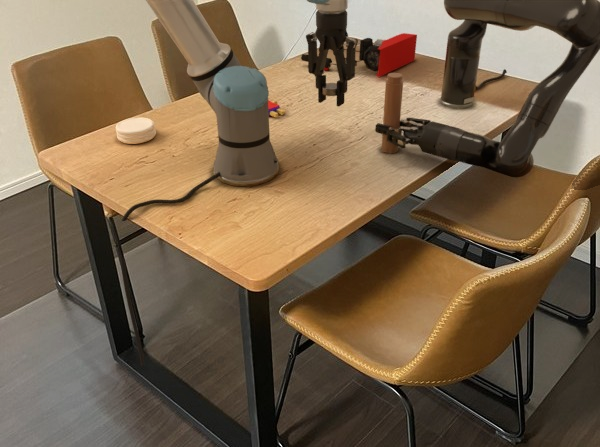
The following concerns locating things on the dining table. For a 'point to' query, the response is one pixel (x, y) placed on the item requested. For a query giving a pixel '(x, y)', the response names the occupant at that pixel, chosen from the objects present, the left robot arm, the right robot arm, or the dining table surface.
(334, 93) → the lid
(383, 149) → the brown capped cylinder
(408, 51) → the electric hoist
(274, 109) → the toy figure
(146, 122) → the coaster
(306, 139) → the dining table surface
